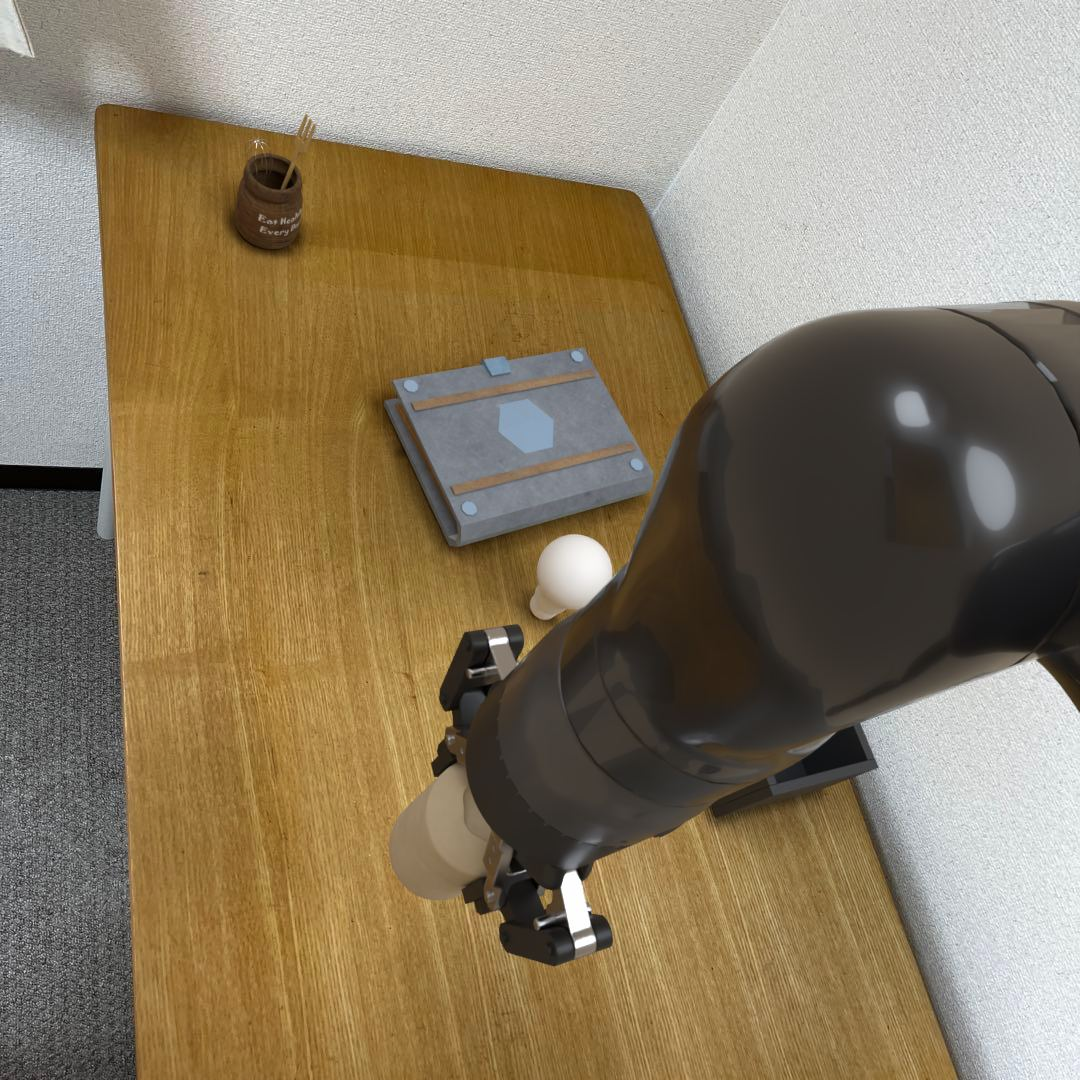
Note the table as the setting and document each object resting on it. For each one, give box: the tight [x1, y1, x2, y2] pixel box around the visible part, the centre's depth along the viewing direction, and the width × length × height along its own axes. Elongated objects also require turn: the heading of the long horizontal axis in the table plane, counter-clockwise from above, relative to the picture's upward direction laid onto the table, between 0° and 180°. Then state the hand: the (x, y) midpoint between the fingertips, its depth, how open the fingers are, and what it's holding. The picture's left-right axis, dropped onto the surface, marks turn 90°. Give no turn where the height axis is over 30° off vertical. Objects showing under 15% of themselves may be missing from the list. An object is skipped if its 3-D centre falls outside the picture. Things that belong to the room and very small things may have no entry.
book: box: [383, 347, 655, 548], centre depth 84 cm, size 21×16×5 cm
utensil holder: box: [235, 113, 317, 250], centre depth 83 cm, size 6×6×12 cm
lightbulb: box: [529, 533, 613, 621], centre depth 75 cm, size 6×6×11 cm
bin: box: [711, 723, 880, 819], centre depth 77 cm, size 11×11×9 cm
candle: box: [388, 762, 491, 901], centre depth 45 cm, size 6×6×10 cm
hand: (466, 828), depth 45 cm, fingers closed on candle, 5 cm apart
